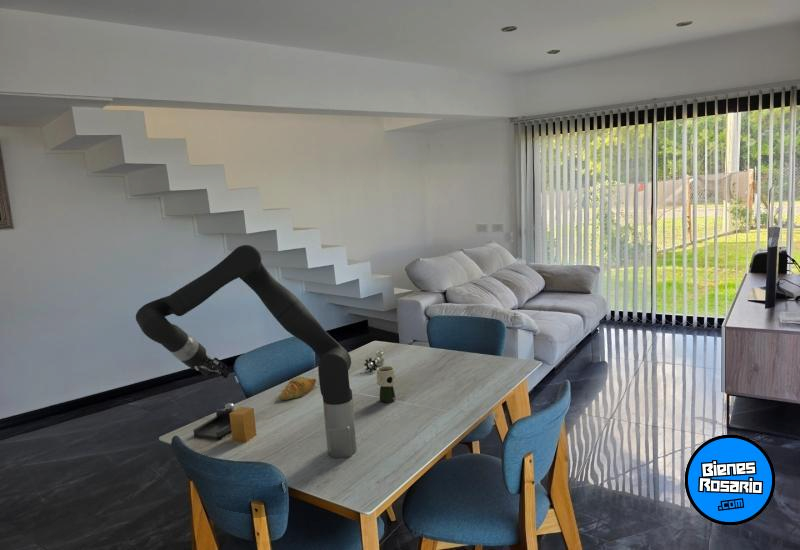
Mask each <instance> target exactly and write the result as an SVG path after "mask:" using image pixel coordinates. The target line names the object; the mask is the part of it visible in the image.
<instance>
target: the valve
mask: <svg viewBox="0 0 800 550" xmlns="http://www.w3.org/2000/svg"><path fill="white" fill-rule="evenodd" d="M384 354H385V352H384V351H381V350H378V351H376V352H375V358H374V359H373V358H372V357H369V358H366V359H365V360H364V361H365V363H364V364H363V365H364V366H365V367H366V368H365V370H366V371H368V370H369V373H372V372H373V371H377V368H378V367H382V366H383V365H384V366H385V355H384ZM376 367H377V368H376Z"/></svg>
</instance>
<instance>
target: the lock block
mask: <svg viewBox="0 0 800 550" xmlns="http://www.w3.org/2000/svg"><path fill="white" fill-rule="evenodd" d="M229 414H230V423H231V431H232V432H231V439H232V442H234V441H236V442H235V443H243V442H244V443H245V444H247V443H246V442H249V441H251V440H253V438H255V437H256V436H257V429H256V418H255V417H256V416H255V408H254V407H247V406H239V407H237V408H235V409H234V411H233V412H231V413H229ZM254 436H255V437H254ZM250 439H251V440H250Z"/></svg>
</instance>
